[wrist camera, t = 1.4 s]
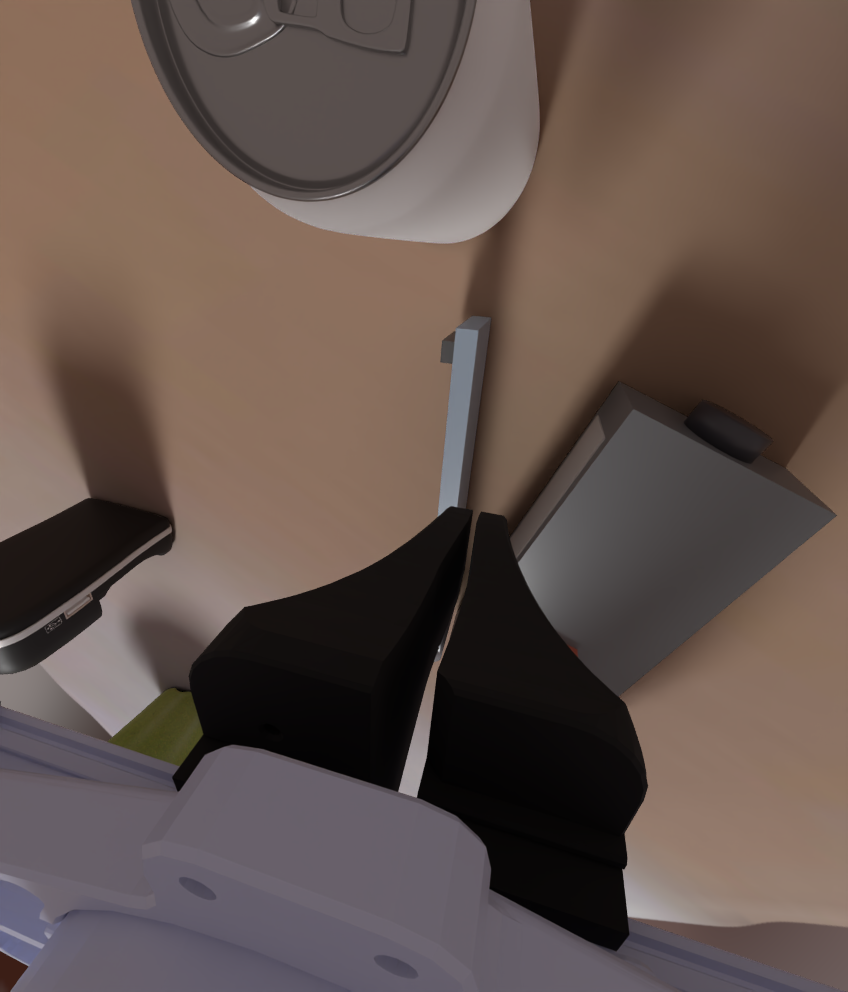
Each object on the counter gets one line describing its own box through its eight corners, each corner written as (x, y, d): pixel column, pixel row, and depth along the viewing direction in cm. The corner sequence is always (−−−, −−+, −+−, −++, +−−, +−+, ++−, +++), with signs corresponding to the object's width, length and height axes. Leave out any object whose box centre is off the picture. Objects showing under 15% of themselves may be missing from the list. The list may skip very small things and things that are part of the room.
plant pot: (213, 753, 44) (144, 854, 37) (134, 697, 43) (47, 789, 35) (254, 722, 39) (186, 830, 32) (168, 658, 38) (75, 755, 31)
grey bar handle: (453, 614, 27) (440, 663, 24) (429, 608, 27) (413, 656, 24) (493, 317, 19) (481, 330, 15) (458, 314, 19) (439, 326, 16)
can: (377, 16, 15) (31, -454, 5) (564, 33, 14) (590, -500, 4) (364, 231, 19) (135, 202, 8) (515, 256, 18) (464, 258, 8)
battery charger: (101, 538, 33) (-91, 658, 23) (87, 493, 31) (-129, 603, 21) (184, 560, 31) (19, 697, 22) (175, 515, 30) (-11, 643, 20)
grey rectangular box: (571, 673, 27) (575, 741, 23) (455, 611, 27) (439, 670, 23) (805, 449, 18) (872, 500, 14) (632, 359, 18) (653, 386, 15)
